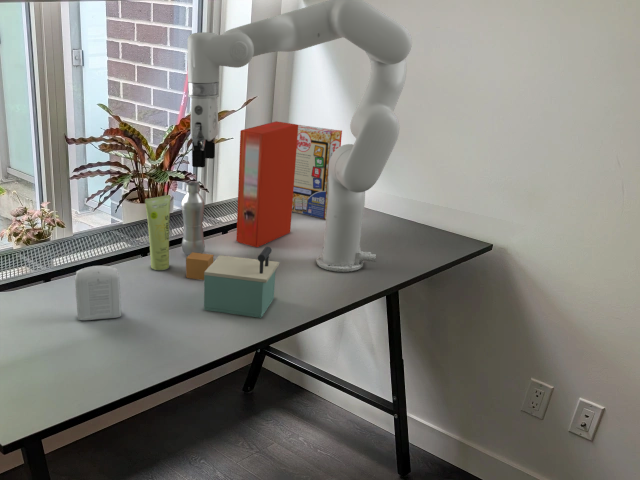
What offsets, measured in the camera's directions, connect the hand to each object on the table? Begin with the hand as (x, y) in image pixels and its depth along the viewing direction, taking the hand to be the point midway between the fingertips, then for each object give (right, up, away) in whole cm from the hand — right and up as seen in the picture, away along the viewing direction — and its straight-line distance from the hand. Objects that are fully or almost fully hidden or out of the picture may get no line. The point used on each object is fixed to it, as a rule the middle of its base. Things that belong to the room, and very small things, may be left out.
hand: (203, 162), depth 183 cm
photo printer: (-25, -40, -13) cm, 49 cm away
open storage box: (+9, -36, -7) cm, 38 cm away
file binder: (+19, -12, +37) cm, 43 cm away
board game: (+35, +1, +60) cm, 69 cm away
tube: (-12, -24, +15) cm, 31 cm away
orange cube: (-1, -27, +10) cm, 29 cm away
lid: (+9, -29, -11) cm, 32 cm away
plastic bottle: (-3, -19, +24) cm, 31 cm away
